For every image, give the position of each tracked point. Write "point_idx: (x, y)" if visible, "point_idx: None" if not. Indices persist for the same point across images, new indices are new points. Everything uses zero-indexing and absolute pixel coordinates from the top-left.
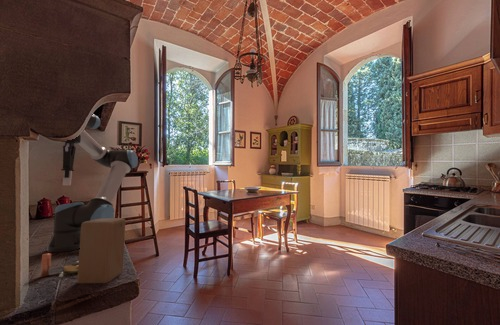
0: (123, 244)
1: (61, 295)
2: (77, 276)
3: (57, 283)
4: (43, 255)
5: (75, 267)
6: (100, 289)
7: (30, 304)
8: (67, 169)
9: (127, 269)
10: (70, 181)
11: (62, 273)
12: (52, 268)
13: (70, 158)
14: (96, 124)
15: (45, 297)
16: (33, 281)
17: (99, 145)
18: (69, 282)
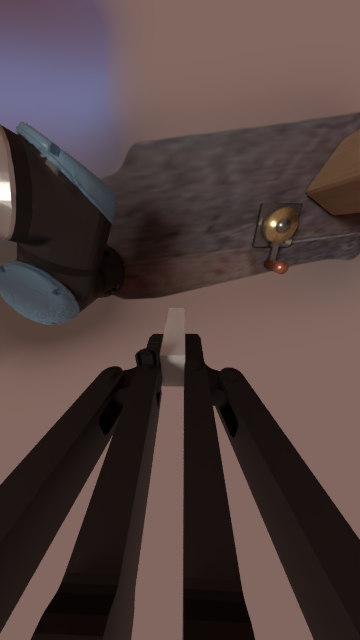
0: None
1: (349, 229)
2: (342, 214)
3: (297, 243)
4: (285, 271)
5: (297, 224)
6: None
7: (346, 255)
8: (214, 375)
9: (320, 127)
10: (182, 316)
11: (288, 241)
12: (270, 257)
13: (290, 487)
14: None
15: (338, 245)
16: (265, 272)
17: None
18: (306, 228)
